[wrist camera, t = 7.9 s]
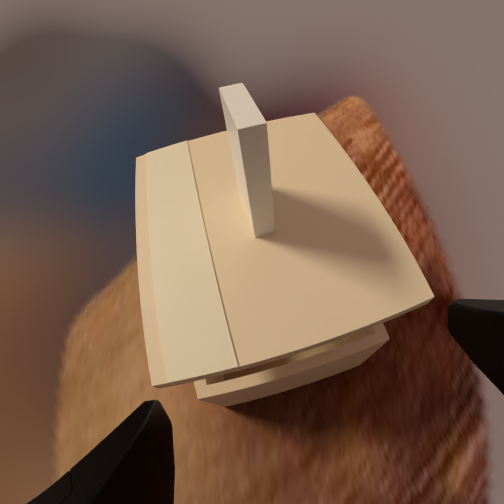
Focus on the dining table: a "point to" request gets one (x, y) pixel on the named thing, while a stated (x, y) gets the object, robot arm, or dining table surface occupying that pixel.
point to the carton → (292, 370)
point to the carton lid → (261, 247)
